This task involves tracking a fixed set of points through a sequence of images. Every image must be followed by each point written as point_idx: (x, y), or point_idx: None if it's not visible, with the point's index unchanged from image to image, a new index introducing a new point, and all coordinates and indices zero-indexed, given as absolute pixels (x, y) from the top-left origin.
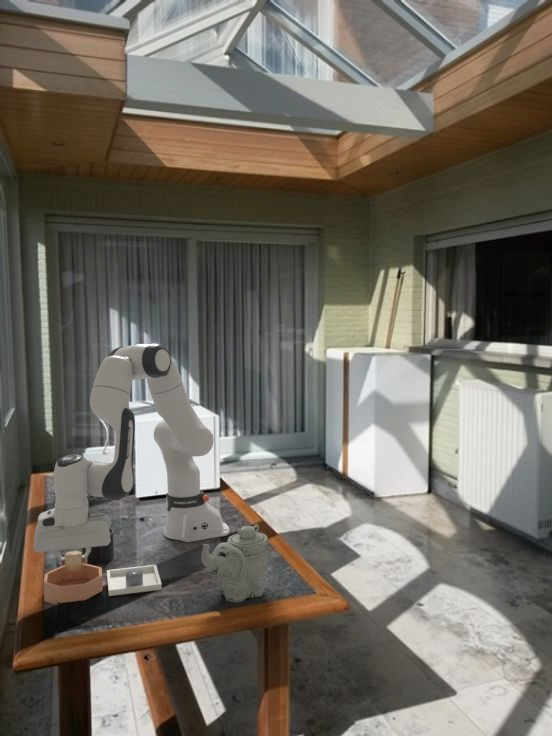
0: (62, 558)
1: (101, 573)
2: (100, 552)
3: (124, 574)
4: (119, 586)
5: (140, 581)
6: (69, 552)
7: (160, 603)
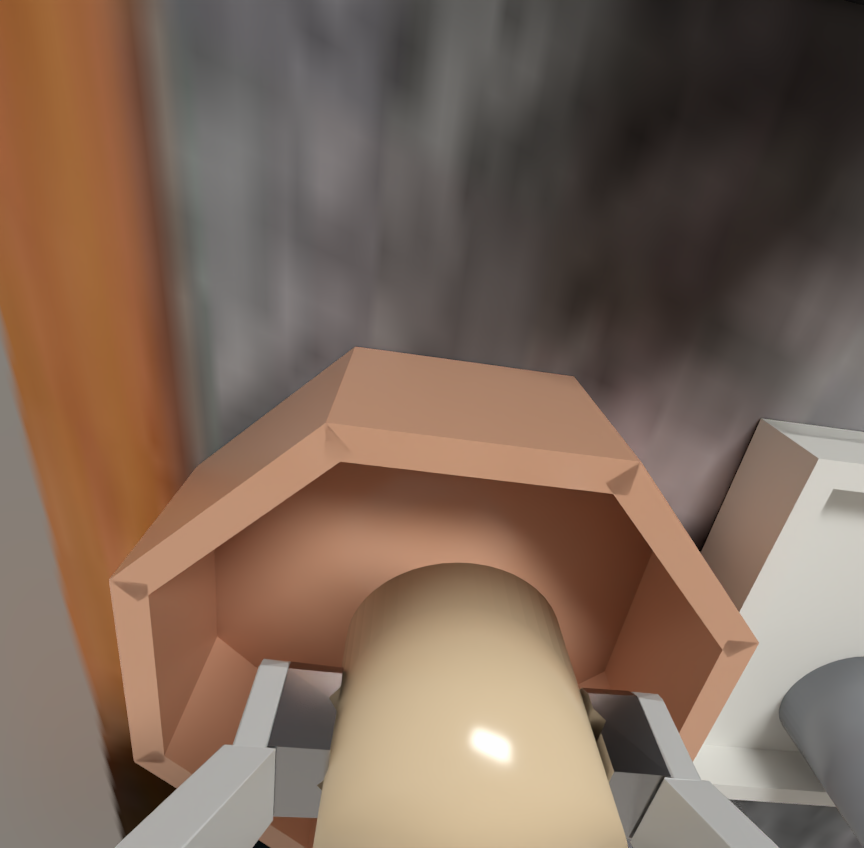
0: (286, 790)
1: (692, 755)
2: None
3: None
4: (757, 663)
5: None
6: (414, 802)
7: (842, 834)
